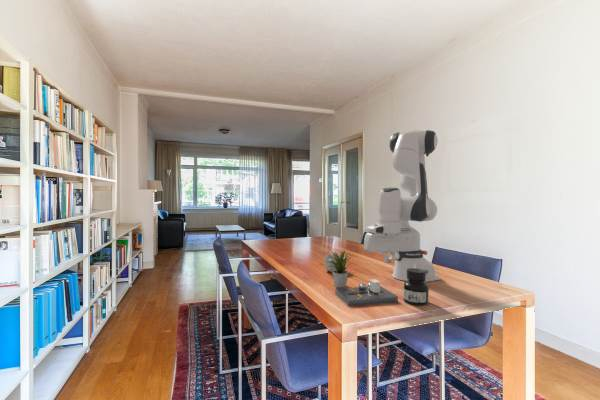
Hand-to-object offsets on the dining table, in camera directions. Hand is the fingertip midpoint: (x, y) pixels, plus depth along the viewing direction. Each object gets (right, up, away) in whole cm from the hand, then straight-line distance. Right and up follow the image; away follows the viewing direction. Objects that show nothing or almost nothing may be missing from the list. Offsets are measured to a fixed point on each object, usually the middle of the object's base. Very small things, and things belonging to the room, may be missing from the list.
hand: (388, 262), depth 120 cm
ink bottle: (+9, -14, -5) cm, 17 cm away
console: (-9, -13, -1) cm, 17 cm away
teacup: (-18, -13, +38) cm, 43 cm away
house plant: (-18, -13, +15) cm, 27 cm away
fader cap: (-6, -11, -1) cm, 12 cm away
